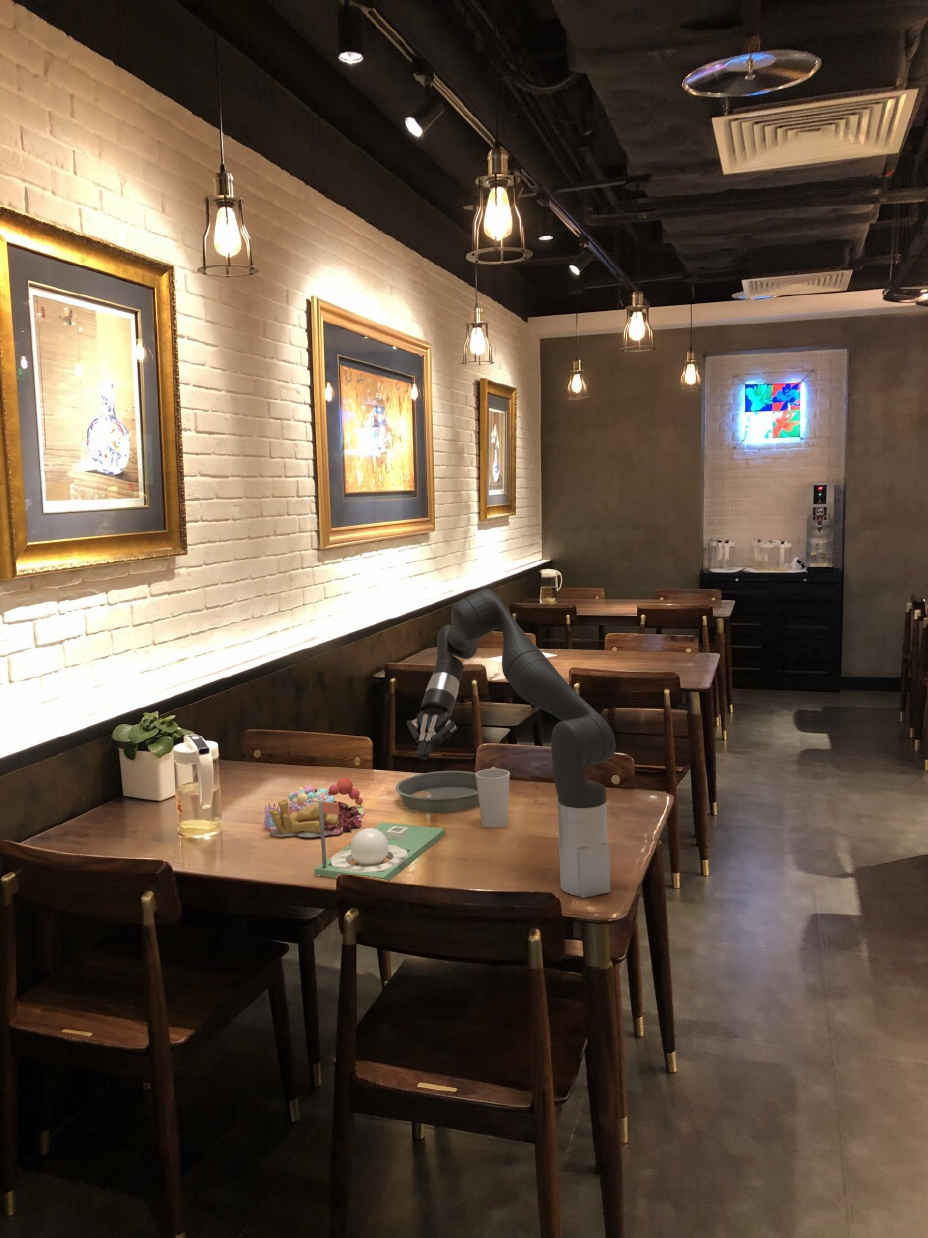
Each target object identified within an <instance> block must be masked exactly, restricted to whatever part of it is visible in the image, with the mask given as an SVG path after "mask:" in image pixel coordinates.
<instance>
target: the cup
mask: <svg viewBox="0 0 928 1238" xmlns="http://www.w3.org/2000/svg"><path fill="white" fill-rule="evenodd" d="M475 773H476V781H477V788H478V797H479V811H480V813H479V814H480V825H482V826H483V827H486V828H491V829H493V828H495V829H496V828H502V827H505V826H507V825H508V824H509V794H510V793H509V791H510V789H509V788H510V774H511V773H510V771H509V770H507V769H504V768H503V769H502V768H486V769H482V770H478V771H477V772H475Z"/></svg>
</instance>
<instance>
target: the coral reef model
mask: <svg viewBox="0 0 928 1238" xmlns="http://www.w3.org/2000/svg"><path fill="white" fill-rule="evenodd" d="M353 784H354V783H353V782H352V780H350V779H349V778H348V777H347V778H346V777H345V778H340V779H339V780H338V781H337V783H336V784H331V785H330V786H329V788H328V790H327V789H326V788H322V787H321V788H319V789H317V788H315V787H314V786H313V785H312V784H306V785H304V787H303V786H299V787H298V788H297V789H296V791H292V792H290V793H289V794H288V796H287V797H288V798H285V799H283V800H278V802H277V806H276V802H274V803H273V806H271V803H270V802H269V801H268V802H267V803H268V804H265V806H264V814H265V817H264V820H263V826H264V827H263V828H264V830H267V831H269V830H271V831H270V832H269V834H270V835H271V836H273V837H274V836H275V837H281V838H282V837H292V836H297V837H302V838H315V837H321V831H320V815H319V801H323V802H333V803H338V804H339V815H334V814H324V813H323V816H324V832H325V836H329V835H340V834H342V833H343V832H344V831H347V832H352V828H355V827H356V828H360V826H361V824H362V823H363V822H362V819H363V818H364V816H365V814H366V812H365V808H364V805H363V802H364V800H363V798H361V797H360V794H361V793H360V791H359V790H358V789H357V788H353V787H354V785H353ZM338 794H341V795H342V796H343V795H345V796H346V795H348V797H349V799H351V800H354V801H355V802H354V803H355V804H356V805H352V804H348V803H345V802H343V801H337V800H336V798H335V796H337V795H338ZM288 800H289V801H288ZM267 827H268V828H267ZM268 829H269V830H268Z"/></svg>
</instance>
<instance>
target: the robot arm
mask: <svg viewBox="0 0 928 1238" xmlns="http://www.w3.org/2000/svg"><path fill="white" fill-rule="evenodd" d="M450 621H451V624H445V625H443V626H442V627H441V628H440V629H439V631H438V633H437V638H436V661H435V666H434V669H433V672H432V676H431V678H430V680H429V681H428V684H427V688H426V689H425V694H424V697H423V699H422V703H421V706H420V711H419V712H418V714H417V716H416V718H415V719H413V720H411V719H408V720H406V722H405V723H406V726H407V727H408V730H409V731H410V733H411V736H412V738H413V739H414V740H415V742H416V743H417V744H418V746H417V748H416V755H417V757H418V758H419V759H420V760H427V759H428V758H429V757H430V755H431V752H432V748H433V746H435V745H439V746H440V745H441V744H443V742H444V741H446V740H447V739H449V738H450V737H451V736H452V735H453V734H454V733H455V732H456V731H458V727H457V726H456V724H455V722H454V721H452V718H451V717H452V715H453V714H452V713H453V712H454V711H453V710H454V708H455V704H456V700H457V698H458V694H459V688H460V683H461V680H462V677H463V673H464V670H465V666H464V663H463V662H462V661H461V660H460V659H459V658H461V659H465V660H469V659H471V658H473V657H474V656H475V655H476V654H477V651H478V648H479V638H482V637H484V636H486V635H487V634H490V633H492V632H494V631H495V630H500V631H501V633H502V639H503V640H502V641H503V644H502V652H501V653H502V654H501V655H502V656H501V670H502V674H503V676H504V678H505V679H506V680H507V682H508V684H510V686H511V687H512V688H513V690H514V691H515V693H517V694H518V696H519V697H520V698H522V699H523V700H524V701H526V702H527V703H529V704H531V706H535V707H537V708H538V709H540V710H543V711H544V712H546V713H549V714H551V715H553V716H554V717H556V718H557V719H558V720H560V721H559V722H557V723H556V724H555V726H554V727H553V729H552V732H551V739H550V747H551V748H550V749H551V750H550V751H551V759H552V770H553V771H552V772H553V782H554V783H553V784H554V787H555V789H556V794H557V811H558V814H557V815H558V819H557V820H558V841H559V842H558V843H559V845H558V846H559V848H558V849H559V850H558V851H559V871H560V874H559V878H560V889H561V890H562V891H563V892H564V893H566V892H567V894H568V893H569V895H572V896H575V897H576V896H577V897H580V898H581V899H585V898H589V897H594V896H597V895H602V894H603V895H604V894H607V893H609V894H610V892H611V870H610V868H611V865H610V844H609V843H608V820H607V819H608V817H607V815H608V814H607V812H608V811H607V809H608V808H607V789H606V787H605V785H603V784H602V783H601V782H598V781H596V780H592V779H587V778H586V777H587V776H586V771H585V767H589V766H594V765H598V764H602V763H604V762H606V761H609V760H611V758H612V757H613V756H614V755H615V753H616V747H617V746H616V745H617V744H616V738H615V735H614V733H613V730H612V728H611V727H610V725H609V724H608V722H607V721H606V720H605V719H604V717H603V716H602V715H601V714H600V713H598V711H596V709H594V708H593V707H592V706H591V705H590V704H589V703H588V702H586V701H585V699H583V697H581V696H580V695H579V694H578V693H577V692H576V691H575V689H574V688H573V687H572V686H571V685H570V684H569V683H568V682H567V681H566V680H565V679H564V678H563V676H562V675H561V674H560V673H559V672H558V670H557V669H556V668H555V666H554V665H553V664H552V663H551V661H550V660H549V659H548V658H547V657H546V655H545V654H544V653H543V652H542V651H541V650H540V648H539V647H538V646H537V645H536V644H535V643H534V642H533V641H532V640H531V639H530V638H529V636H528V635H527V634H526V633H525V632H524V630H523V629H522V628H521V626H520V625H519V623H517V621H516V619H515V618H514V616H513V615H512V613H510V611H509V610H508V608H507V607H506V605H505V604H504V602H503V601H502V599H501V598H500V597H499V596H498V595H497V594H496V593H495V592H494V591H493V590H492V589H489V588H484V589H482V590H478V591H477V592H475V593H472V594H471V595H469V596H466V597H464V598H462V599H460V600H459V601H457V602H456V603H455V604H453V606H452V609H451V611H450ZM418 727H420V729H419V730H420V731H419V732H420V734H419V733H418V731H417V730H418Z"/></svg>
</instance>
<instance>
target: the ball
mask: <svg viewBox="0 0 928 1238" xmlns="http://www.w3.org/2000/svg"><path fill="white" fill-rule="evenodd" d="M374 828H375V827H374ZM374 828H372V827H367V828H364V829H361V830H359V831H357V833H355V834H354V836H353V838H352V840H351V843H350V844H351V846H350V850H351V855H352V857H353V860H354V861H355V863H356V864H357V865H358V866H362V867H367V866H377V865H380V864H383V862H384V861H385V860H386V858H388V857H387V854H388V850H389V844H388V840H387V838H386V836H385V835H384V834H383V833H382V832H381V831H379V830H377V829H374Z"/></svg>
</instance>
